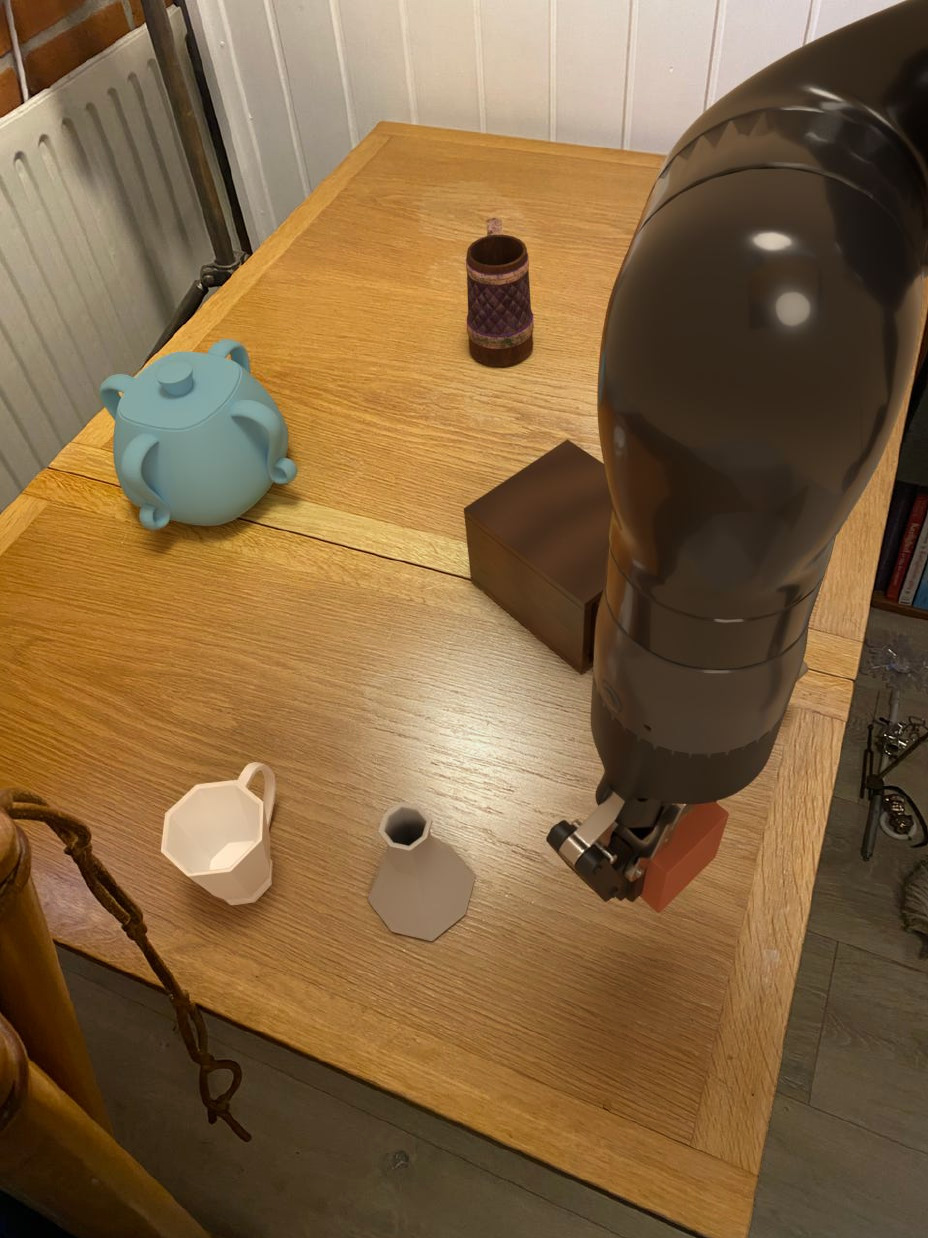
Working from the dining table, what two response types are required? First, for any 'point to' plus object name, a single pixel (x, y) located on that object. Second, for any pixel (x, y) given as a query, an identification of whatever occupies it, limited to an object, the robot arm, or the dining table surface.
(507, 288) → the mug
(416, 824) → the flask
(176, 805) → the cup
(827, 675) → the dining table surface
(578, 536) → the cabinet
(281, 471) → the decorative pot
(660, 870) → the block
